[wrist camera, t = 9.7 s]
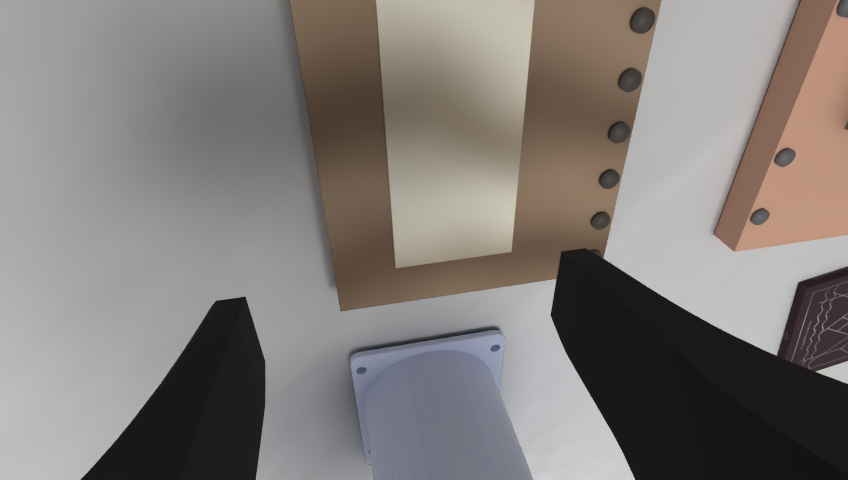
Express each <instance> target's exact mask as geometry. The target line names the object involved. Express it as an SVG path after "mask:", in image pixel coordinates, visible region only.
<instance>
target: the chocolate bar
mask: <svg viewBox="0 0 848 480" xmlns="http://www.w3.org/2000/svg"><path fill="white" fill-rule="evenodd" d="M777 356H778V357H780V358H782V359H785V360H787V361H790V362H792V363H795V364H797V365H800V366H802V367H804V368H807V369H809V370H812V371H814V372H815V371H818V370H821V369H824V368H827V367H830V366H833V365H836V364H839V363H842V362H846V361H848V267H846V268H843V269H839V270H836V271H833V272H830V273H827V274H824V275H821V276H818V277H814V278H811V279H808V280H805V281H802V282H799V283H798V286H797V290H796V293H795V297H794V300H793V304H792V307H791V310H790V314H789V317H788V321H787V324H786V328H785V331H784V334H783V338H782V341H781V345H780V348H779V352H778V355H777Z"/></svg>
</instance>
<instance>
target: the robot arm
mask: <svg viewBox="0 0 848 480" xmlns="http://www.w3.org/2000/svg"><path fill="white" fill-rule="evenodd" d="M551 317H552V320H553V322H554V325H555V327H556V330H557V332H558V335H559V337H560V340H561V342H562V344H563V347H564V349H565V351H566V353H567V355H568V357H569V359H570V360H571V362H572V364H573V366H574V367H575V369H576V371H577V373H578V374H579V376H580V378H581V380H582V381H583V383H584V385H585V387H586V388H587V390H588V392H589V393H590V395H591V397H592V398H593V400H594V402H595V404H596V405H597V407H598V409H599V410H600V412H601V414H602V416H603V417H604V419H605V421H606V422H607V424H608V426H609V428H610V429H611V431H612V433H613V435H614V436H615V438H616V440H617V442H618V444H619V446H620V448H621V450H622V452H623V454H624V456H625V458H626V460H627V462H628V465H629V467H630V469H631V471H632V473H633V476H634V478H635V480H848V384H846V383H843V382H841V381H838V380H835V379H833V378H830V377H827V376H824V375H822V374H819V373H817V372H814V371H812V370H809V369H807V368H804V367H802V366H800V365H797V364H795V363H792V362H790V361H787V360H785V359H782V358H780V357H778V356H776V355H773V354H771V353H769V352H766V351H764V350H762V349H760V348H758V347H756V346H754V345H752V344H749V343H747V342H745V341H743V340H741V339H739V338H737V337H735V336H733V335H731V334H729V333H727V332H725V331H723V330H721V329H719V328H717V327H715V326H713V325H711V324H709V323H708V322H706V321H704V320H702V319H701V318H699V317H697V316H695V315H693V314H692V313H690V312H688V311H686V310H684V309H683V308H681V307H679V306H678V305H676V304H674V303H673V302H671V301H669V300H668V299H666V298H664V297H663V296H661V295H659V294H658V293H656V292H655V291H653V290H651V289H650V288H648V287H647V286H645V285H643V284H642V283H640V282H639V281H637V280H636V279H634V278H632V277H631V276H629V275H628V274H626V273H625V272H623V271H622V270H620V269H619V268H617V267H615V266H614V265H612V264H611V263H609V262H608V261H606V260H605V259H603V258H601V257H600V256H598V255H597V254H595V253H593V252H592V251H590V250H588V249H586V248H582V249H575V250H568V251H561V256H560V262H559V268H558V274H557V280H556V286H555V292H554V299H553V305H552V311H551ZM504 341H505V338H504V335H503V333H502V332H501V331H499V330H491V331H484V332H478V333H472V334H466V335H460V336H454V337H448V338H442V339H436V340H429V341H423V342H417V343H411V344H405V345H399V346H393V347H387V348H381V349H374V350H368V351H362V352H357V353H355V354H353V355H352V356H351V358H350V366H351V372H352V378H353V384H354V390H355V397H356V403H357V409H358V415H359V421H360V427H361V434H362V440H363V446H364V452H365V458H366V462H367V464H369V465H372V471H373V479H374V480H533V477H532V475H531V472H530V470H529V467H528V464H527V462H526V459H525V457H524V454H523V452H522V449H521V446H520V444H519V441H518V439H517V436H516V434H515V431H514V428H513V426H512V423H511V421H510V418H509V416H508V413H507V411H506V408H505V405H504V403H503V400H502V398H501V395H500V384H501V373H502V363H503V352H504ZM493 345H495V346H493ZM361 367H364V368H361ZM264 409H265V359H264V356H263V353H262V350H261V346H260V343H259V340H258V336H257V333H256V330H255V327H254V323H253V320H252V317H251V313H250V310H249V307H248V304H247V300H246V297H240V298H233V299H226V300H219V301H216V302H215V303H214V304H213V305H212V307H211V308H210V310H209V311H208V313H207V315H206V316H205V318H204V319H203V321H202V323H201V324H200V326H199V327H198V329H197V331H196V332H195V334H194V335H193V337H192V338H191V340H190V341H189V343H188V344H187V346H186V347H185V349H184V351H183V352H182V354H181V355H180V356H179V358H178V359H177V361H176V362H175V364H174V365H173V367H172V368H171V369H170V371H169V372H168V374H167V375H166V377H165V378H164V380H163V381H162V382H161V384H160V385H159V386H158V388H157V389H156V390H155V392H154V393H153V394H152V396H151V397H150V398H149V400H148V401H147V402H146V404H145V405H144V406H143V407H142V409H141V410H140V411H139V413H138V414H137V415H136V417H135V418H134V419H133V420H132V422H131V423H130V424H129V425H128V427H127V428H126V429H125V430H124V431H123V433H122V434H121V435H120V436H119V438H118V439H117V440H116V441H115V442H114V443H113V445H112V446H111V447H110V448H109V449H108V450H107V451H106V453H105V454H104V455H103V456H102V457H101V458H100V459H99V460H98V462H97V463H96V464H95V465H94V466H93V467H92V468H91V469H90V470H89V471H88V473H87V474H86V475H85V476H84V477H83V478H82V479H81V480H256V472H257V465H258V457H259V449H260V442H261V434H262V426H263V418H264Z"/></svg>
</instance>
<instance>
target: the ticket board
mask: <svg viewBox="0 0 848 480" xmlns="http://www.w3.org/2000/svg"><path fill="white" fill-rule="evenodd" d="M660 4H661V0H290V6H291V12H292V18H293V24H294V30H295V36H296V42H297V48H298V54H299V60H300V67H301V73H302V79H303V85H304V91H305V97H306V103H307V109H308V115H309V121H310V128H311V134H312V140H313V146H314V152H315V158H316V164H317V170H318V176H319V182H320V189H321V195H322V201H323V207H324V213H325V219H326V225H327V231H328V237H329V243H330V250H331V256H332V262H333V268H334V274H335V280H336V286H337V292H338V298H339V305H340V311H347V310H353V309H360V308H367V307H373V306H380V305H386V304H393V303H400V302H406V301H413V300H420V299H426V298H433V297H439V296H446V295H453V294H459V293H466V292H472V291H479V290H486V289H492V288H499V287H505V286H512V285H519V284H525V283H532V282H538V281H545V280H552V279H557V274H558V268H559V262H560V256H561V251H568V250H575V249H582V248H586V249H588V250H590V251H592V252H593V253H595V254H597V255H598V256H600V257H601V258H604V253H605V249H606V244H607V240H608V235H609V231H610V227H611V222H612V218H613V213H614V209H615V204H616V200H617V195H618V191H619V187H620V182H621V178H622V173H623V169H624V164H625V160H626V155H627V151H628V146H629V142H630V138H631V133H632V129H633V124H634V120H635V115H636V111H637V106H638V102H639V98H640V93H641V89H642V84H643V80H644V75H645V71H646V66H647V62H648V58H649V53H650V49H651V44H652V40H653V35H654V31H655V26H656V22H657V17H658V13H659V9H660Z"/></svg>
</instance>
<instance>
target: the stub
mask: <svg viewBox="0 0 848 480" xmlns="http://www.w3.org/2000/svg"><path fill="white" fill-rule="evenodd" d="M714 235H715V236H716V237H717V238H719V239H720V240H721V241H722V242H723V243H725V244H726V245H727V246H728V247H729V248H730V249H732V250H733V251H734V252H737V251H743V250H750V249H756V248H763V247H770V246H776V245H783V244H789V243H796V242H803V241H809V240H816V239H822V238H829V237H836V236H842V235H848V0H801V2H800V4H799V7H798V10H797V13H796V15H795V18H794V21H793V23H792V26H791V29H790V31H789V34H788V37H787V40H786V42H785V45H784V48H783V50H782V53H781V56H780V58H779V61H778V64H777V67H776V69H775V72H774V75H773V77H772V80H771V83H770V85H769V88H768V91H767V93H766V96H765V99H764V102H763V104H762V107H761V110H760V112H759V115H758V118H757V120H756V123H755V126H754V129H753V131H752V134H751V137H750V139H749V142H748V145H747V147H746V150H745V153H744V155H743V158H742V161H741V164H740V166H739V169H738V172H737V174H736V177H735V180H734V182H733V185H732V188H731V191H730V193H729V196H728V199H727V201H726V204H725V207H724V209H723V212H722V215H721V217H720V220H719V223H718V226H717V228H716V231H715V234H714Z"/></svg>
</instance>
